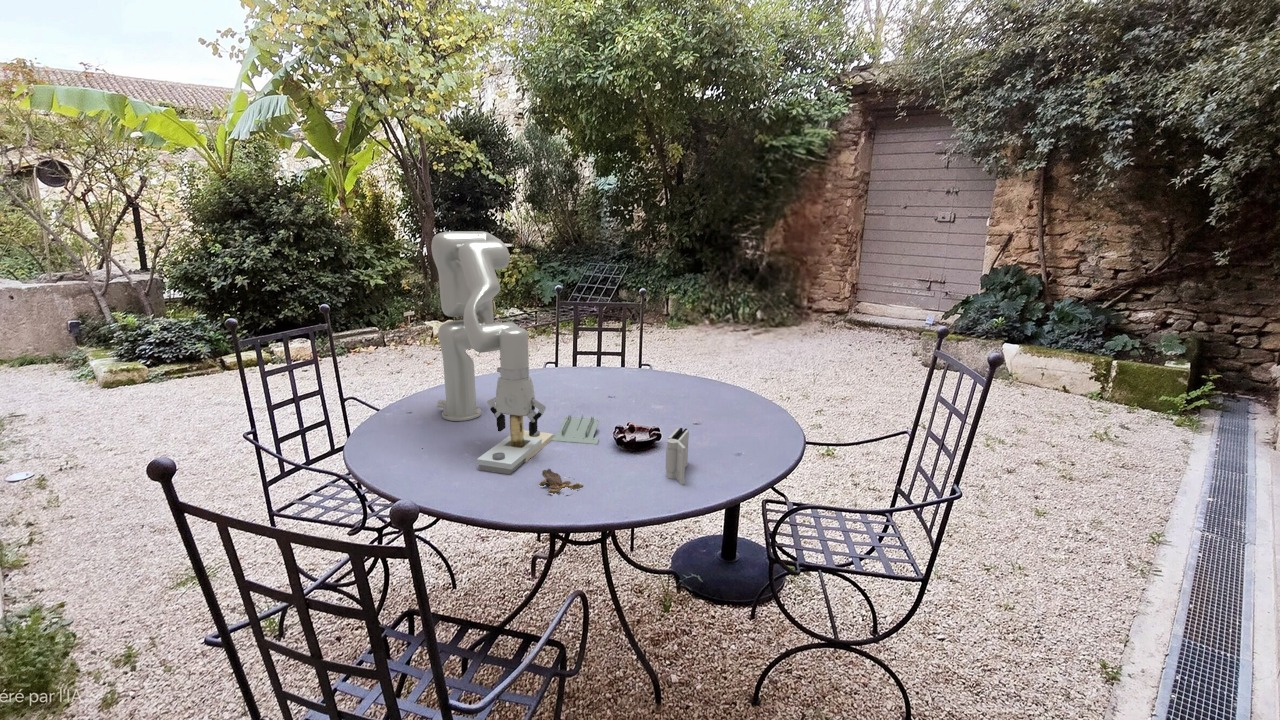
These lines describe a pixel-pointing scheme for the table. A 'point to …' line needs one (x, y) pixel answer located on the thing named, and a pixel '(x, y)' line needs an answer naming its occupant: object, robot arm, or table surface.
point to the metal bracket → (577, 431)
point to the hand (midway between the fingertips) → (517, 432)
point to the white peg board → (512, 453)
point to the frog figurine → (557, 482)
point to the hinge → (677, 454)
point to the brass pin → (516, 431)
